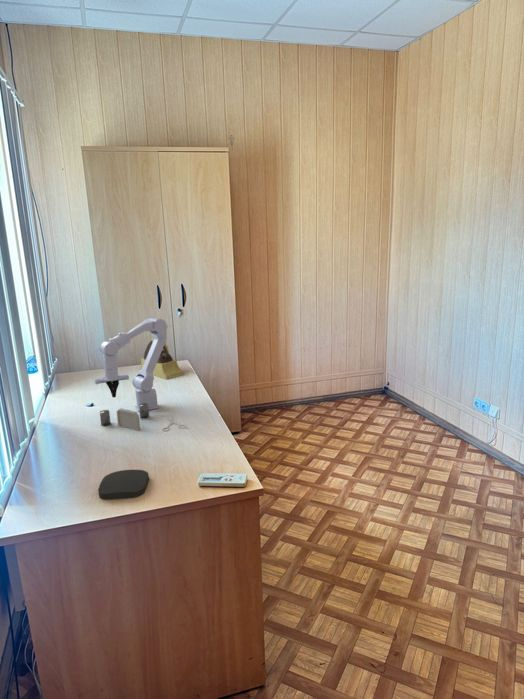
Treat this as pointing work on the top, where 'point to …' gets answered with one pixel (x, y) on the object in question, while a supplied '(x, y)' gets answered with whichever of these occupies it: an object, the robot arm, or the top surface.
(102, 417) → the post
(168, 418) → the scissors
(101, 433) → the top surface
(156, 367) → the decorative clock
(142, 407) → the post
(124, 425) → the light switch
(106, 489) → the media streaming box
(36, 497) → the top surface
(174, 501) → the top surface
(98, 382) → the robot arm
